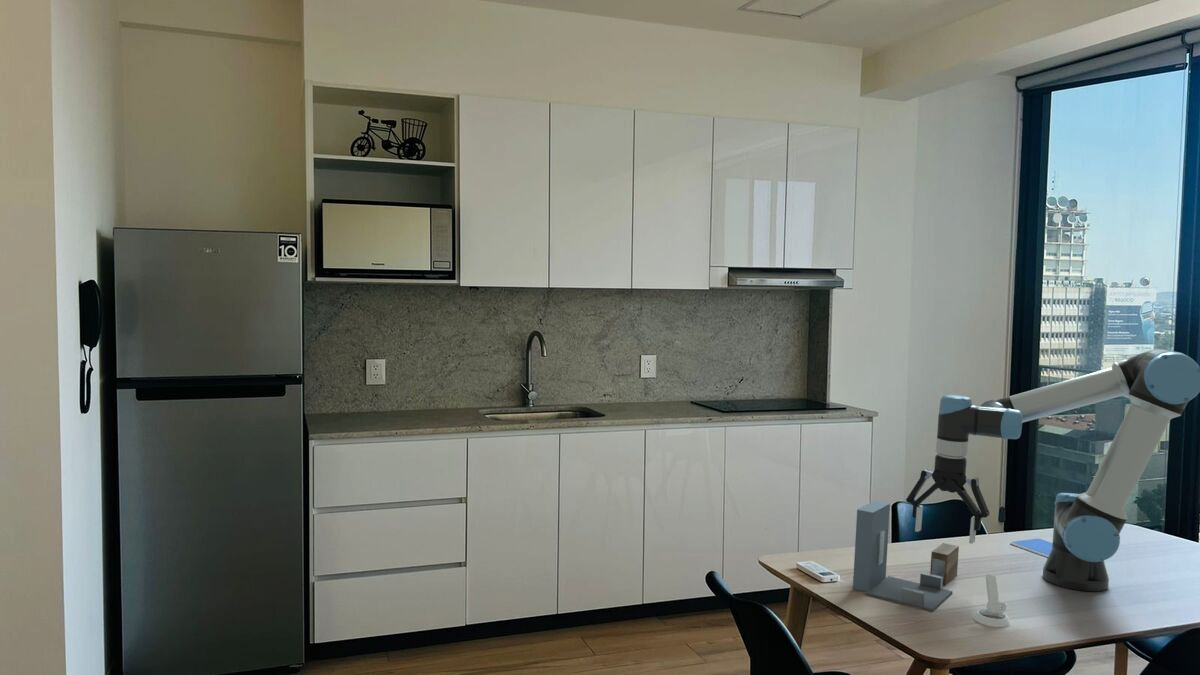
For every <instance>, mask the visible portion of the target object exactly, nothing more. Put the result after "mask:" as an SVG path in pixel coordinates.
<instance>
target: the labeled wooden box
mask: <svg viewBox="0 0 1200 675" xmlns="http://www.w3.org/2000/svg"><path fill="white" fill-rule="evenodd" d="M959 549H960V546H959V545H955V544H950V543H945V542H942V543H941V544H940V545H939V546H937V547H936V548H934V549H933V550H932V551H931V555H930V571H929V572H930V573H929V574H932V575H937V576H941V577H943V583H942V586H945V585H946V586H947V585H948V584H950V582H952V581H953V580H954V579H955V578H956V577H957V576H958V567H959V566H958V565H959ZM951 580H952V581H951Z"/></svg>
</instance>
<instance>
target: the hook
mask: <svg viewBox="0 0 1200 675" xmlns="http://www.w3.org/2000/svg"><path fill="white" fill-rule="evenodd" d="M985 584H986V592H987V600H988V601H987V604H986V608H980V609H977V611H976V612H975V614H974V615H973V617H972V618H973V620H974V621H976V622H977V623H978V624H981V625H984V626H989V627H994V628H1007V627H1009V626H1010V625H1011V622H1010V619H1009V616H1008V615H1007V614H1006V613H1005V611H1006V609H1007V605H1006V603H1005V601H1003V600H1000V598H999V597H1000V596H999V591H998V590H999V589H998V582H997V576H996V575H995V574H991V573H987V574H986V575H985ZM987 616H993V617H997V618H993V617H987Z"/></svg>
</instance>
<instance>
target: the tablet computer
mask: <svg viewBox="0 0 1200 675" xmlns="http://www.w3.org/2000/svg"><path fill="white" fill-rule="evenodd" d="M1009 544H1010V545H1012V546H1015V547H1016V548H1017V547H1018V548H1020V549H1023V550H1025V551H1027V552H1028V551H1029V552H1030V553H1034V554H1037V555H1040V556H1041V557H1044V558H1047V559H1048V556H1049V554H1050V552H1051V550H1052V544H1053V542H1052V541H1051V542H1050V541H1048V540H1045V539H1041V538H1031V539H1024V540H1023V539H1022V540H1016V541H1010V542H1009Z"/></svg>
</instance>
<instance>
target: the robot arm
mask: <svg viewBox="0 0 1200 675" xmlns="http://www.w3.org/2000/svg"><path fill="white" fill-rule="evenodd" d="M1199 393H1200V365H1199V364H1198V363H1197V362H1196V360H1194V359H1193V358H1191V357H1190V356H1189V355H1187V354H1184V353H1183V352H1179V351H1176V350H1170V349H1165V348H1155V349H1149V350H1147V351H1144V352H1142V353H1139V354H1136V355H1133V356H1131V357H1128V358H1125V359H1121V360H1117V361H1115V362H1113V364H1112V366H1110V367H1109V368H1105V369H1101V370H1097V371H1095V372H1091V373H1087V374H1085V375H1084V374H1083V375H1080V376H1077V377H1072V378H1070V379H1066V380H1063V381H1060V382H1055V383H1052V384H1047V385H1045V386H1041V387H1038V388H1033V389H1031V390H1027V391H1024V392H1020V393H1017V394H1013V395H1010V396H1006V397H1002V398H998V399H989V400H986V401H984V402H983V403H981V404H980V406H979V405H975V404H973V403H972V399H971V397H968V396H964V395H963V396H962V395H957V394H948V395H947V394H946V395H942V397H941V398H940V402H939V409H938V418H937V419H938V420H937V431H936V432H937V434H936V435H937V436H936V443H935V444H936V445H935V452H936V455H935V456H934V457H935V458H934V468H933V469H934V471H930V470H929V469H927V468H926V469H923V470H921V472H920V476H919V479H918V480H917V482H916V484H915V485H914V487H913V488H912V489H911V491H910V493H909V494H908V496H907V498H906V499H905V501H906V503H908V504H911V505H912V516H911V517H912V518H914V519H915V527H914V532H917V533H919V532H920V531H922V522H923V510H924V507H923V506H924V505H921V504H922V503H923V502H924V501H926V499H927V498H929V497H930V496H931V495H933V493H934V492H936V491H937V490H940V491H941V492H949V493H956V494H957V495H958V496H959V497H960V499H961V500H962V501H963V502H964V504H965V506H967V508H968V510H969V512H970V513H971V514H972V517H970V526H969V528H970V529H969V540H968V544H971V545H972V544H973V543H975V542H976V534H977V532H979V531H980V529H981V525H982V524H981V523H982V518H987V517H989V516H990V511H989V509H988V506H987V502H986V501H985V499H984V496H983V494H982V491H981V489H980V485H979V484H980V483H979V478H978V477H974V478H971V477H967V475H966V472H967V458H966V457H967V456H968V448H969V435H971V436H981V437H989V438H999V439H1004V440H1018V439H1020V437H1021V435H1022V429H1023V423H1026V422H1030V421H1033V420H1037V419H1042V418H1044V417H1048V416H1052V415H1056V414H1059V413H1063V412H1066V411H1071V410H1074V409H1079V408H1082V407H1085V406H1086V407H1087V406H1090V405H1093V404H1097V403H1100V402H1105V401H1108V400H1109V401H1110V400H1112V399H1115V398H1119V397H1124V398H1126V399H1129V401H1130V406H1129V408H1128V410H1127V412H1126V414H1125V416H1124V418H1123V420H1122V421H1121V424H1120V426H1119V428H1118V430H1117V432H1116V433H1115V435H1114V437H1113V439H1112V441H1111V443H1110V445H1109V447H1108V449H1107V451H1106V453H1105V455H1104V457H1103V460H1102V461H1101V463H1100V465H1099V467H1098V469H1097V470H1096V473H1095V475H1094V477H1093V479H1092V481H1091V483H1090V485H1089V487H1088V488H1087V491H1085V492H1082V493H1075V492H1074V493H1072V492H1059V493H1057V494H1056V497H1055V501H1054V516H1053V517H1054V518H1053V534H1052V543H1053V544H1052V550H1051V552H1050V554H1049V556H1048V558H1047V559H1046V561H1045V563H1044V566H1043V569H1042V578H1043V579H1044V580H1045V581H1047V582H1049V583H1051V584H1053V585H1056V586H1060V587H1062V588H1065V589H1071V590H1076V591H1082V592H1083V591H1084V592H1102V591H1106V590H1107V589H1109V581H1110V578H1109V574H1108V571H1107V568H1106V563H1105V561H1106V560H1109V559H1110V558H1112V557H1113V556H1114V555H1115V554H1116V553H1117V551H1118V549H1119V547H1120V544H1121V536H1120V534H1121V532H1122V529H1123V528H1124V526H1125V524H1126V522H1127V520H1128V519H1129V518H1128V514H1127V512H1126V510H1125V508H1126V506H1127V504H1128V503H1129V500H1130V498H1131V496H1132V495H1133V492H1134V490H1135V489H1136V486H1137V485H1138V482H1139V481H1140V479H1141V477H1142V475H1143V473H1144V471H1145V469H1146V468H1147V465H1148V464H1149V462H1150V460H1151V458H1152V455H1153V454H1154V452H1155V450H1156V448H1157V446H1158V444H1159V442H1160V440H1161V439H1162V436H1163V434H1164V432H1165V431H1166V428H1168V424H1169V423H1170V421H1171V420H1172V419H1174V418H1178V417H1181V416H1182V414H1183V412H1184V410H1185V408H1186V407H1187V405H1188V403H1189V402H1190V401H1191V400H1193V399H1194V398H1196V397H1197V396H1198V395H1199ZM931 477H932V479H933V481H934V483H933V484H932V485H931V486H930V487H929V488H928V489H927V490H926V491H925V492H923V493H922V494H921V495H920V496H919V497H918V498H917V499H916V497H917V495H918V494H919V493H920V491H921V489H922V488H923V486H924V485H925V483H926V481H927V480H929V479H930V478H931ZM966 484H967V485H968V486H969V487H970V488H971V491H972V493H973V497H974V499H975V501H974V500H973V499H972V498H971V496H970V495H969V493H968V492H967V490H966V488H965V487H964V486H965V485H966ZM975 502H976V503H977V505H976V504H975ZM977 506H978V507H977Z"/></svg>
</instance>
